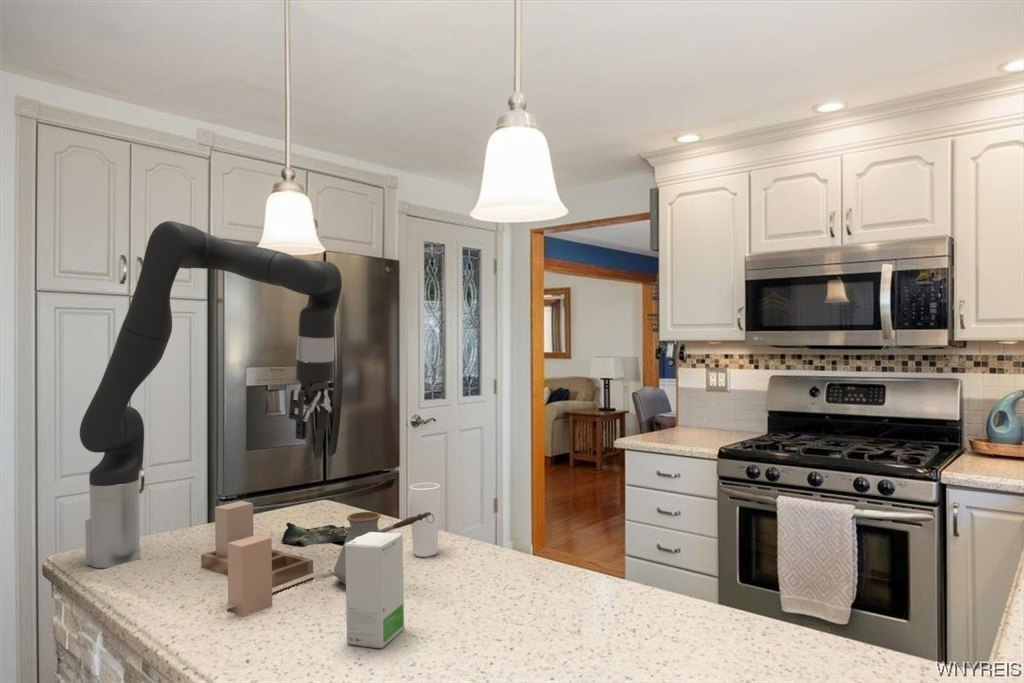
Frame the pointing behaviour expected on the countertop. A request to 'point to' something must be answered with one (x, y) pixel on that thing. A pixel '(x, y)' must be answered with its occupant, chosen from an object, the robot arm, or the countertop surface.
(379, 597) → the skincare box
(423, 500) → the drinking glass
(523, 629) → the countertop surface
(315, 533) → the decorative rock
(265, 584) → the clay bar
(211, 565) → the wooden divided tray
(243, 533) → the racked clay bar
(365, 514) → the coffee pot
